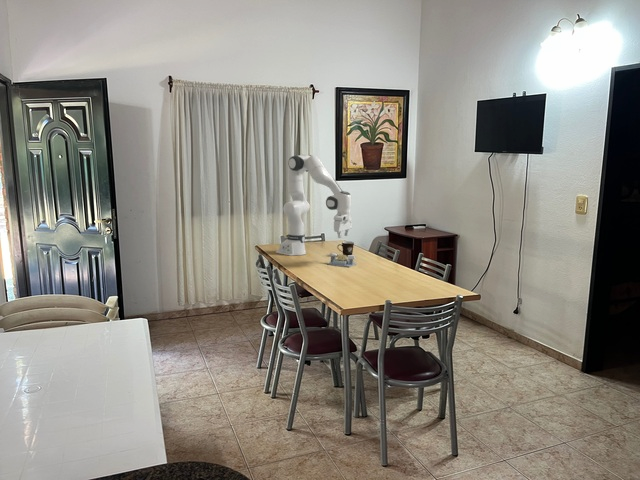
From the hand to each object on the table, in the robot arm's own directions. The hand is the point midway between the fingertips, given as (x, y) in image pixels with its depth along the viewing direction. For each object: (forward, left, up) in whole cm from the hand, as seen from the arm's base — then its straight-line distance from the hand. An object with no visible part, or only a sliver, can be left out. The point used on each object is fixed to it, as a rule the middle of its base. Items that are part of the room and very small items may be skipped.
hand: (342, 236), depth 330 cm
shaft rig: (+1, -3, -18) cm, 18 cm away
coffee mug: (-9, +23, -18) cm, 31 cm away
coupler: (+1, -3, -17) cm, 17 cm away
